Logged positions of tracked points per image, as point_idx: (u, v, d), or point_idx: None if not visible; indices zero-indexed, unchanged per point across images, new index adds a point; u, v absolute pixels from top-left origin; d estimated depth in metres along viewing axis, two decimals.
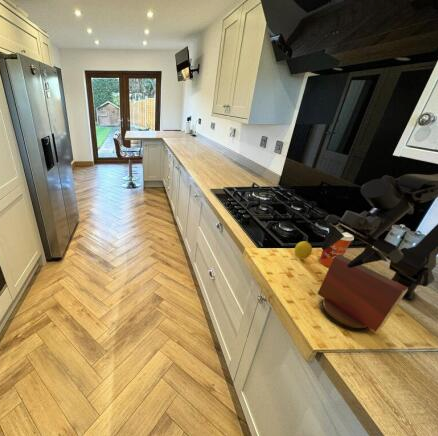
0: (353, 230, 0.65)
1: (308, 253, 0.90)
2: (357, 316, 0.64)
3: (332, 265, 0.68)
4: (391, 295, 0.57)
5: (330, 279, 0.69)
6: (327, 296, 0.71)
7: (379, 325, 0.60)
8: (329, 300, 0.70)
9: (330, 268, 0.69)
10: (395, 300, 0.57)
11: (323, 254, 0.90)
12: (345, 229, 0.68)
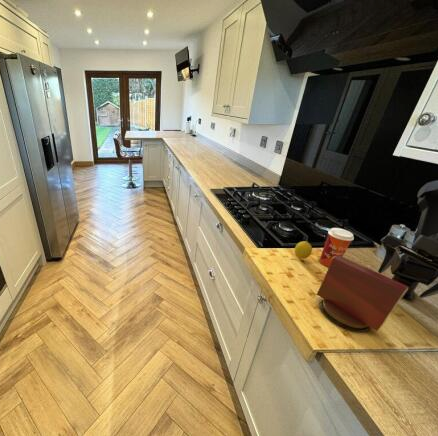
0: (419, 254, 0.60)
1: (308, 253, 0.90)
2: (358, 316, 0.64)
3: (331, 266, 0.68)
4: (393, 295, 0.57)
5: (329, 280, 0.69)
6: (327, 297, 0.70)
7: (381, 324, 0.61)
8: (329, 301, 0.70)
9: (329, 269, 0.68)
10: (397, 300, 0.57)
11: (323, 254, 0.90)
12: (407, 252, 0.63)
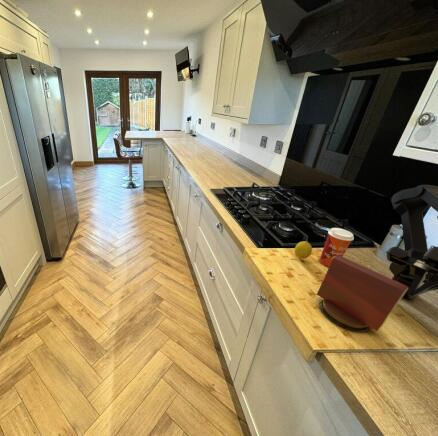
0: None
1: (308, 253, 0.90)
2: (358, 316, 0.64)
3: (331, 266, 0.68)
4: (393, 295, 0.57)
5: (329, 280, 0.69)
6: (327, 297, 0.70)
7: (381, 324, 0.61)
8: (329, 301, 0.70)
9: (329, 269, 0.68)
10: (397, 300, 0.57)
11: (323, 254, 0.90)
12: (413, 263, 0.64)
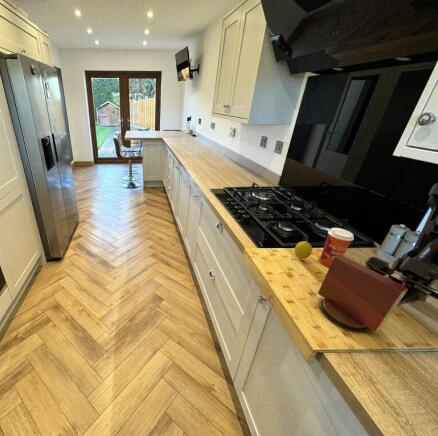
0: (427, 287, 0.57)
1: (308, 253, 0.90)
2: (356, 316, 0.64)
3: (332, 265, 0.68)
4: (391, 295, 0.57)
5: (330, 279, 0.69)
6: (327, 296, 0.71)
7: (378, 325, 0.60)
8: (329, 300, 0.70)
9: (330, 268, 0.69)
10: (394, 300, 0.57)
11: (323, 254, 0.90)
12: (391, 274, 0.63)
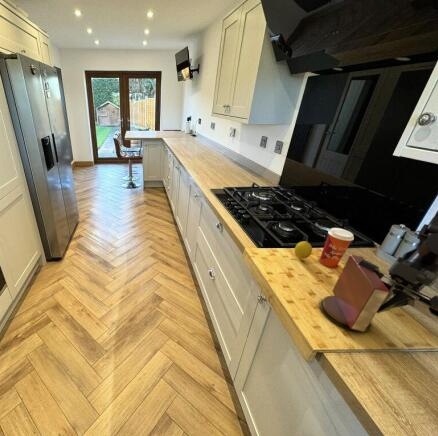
0: (416, 292, 0.56)
1: (308, 253, 0.90)
2: (345, 313, 0.65)
3: (347, 262, 0.69)
4: (368, 292, 0.58)
5: (342, 276, 0.71)
6: (336, 293, 0.72)
7: (354, 322, 0.61)
8: (336, 297, 0.72)
9: (345, 265, 0.70)
10: (368, 297, 0.57)
11: (323, 254, 0.90)
12: (381, 278, 0.62)
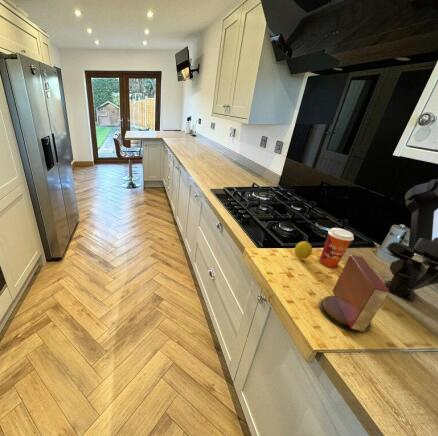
0: None
1: (308, 253, 0.90)
2: (345, 313, 0.65)
3: (347, 262, 0.69)
4: (368, 292, 0.58)
5: (342, 276, 0.71)
6: (336, 293, 0.72)
7: (354, 322, 0.61)
8: (336, 297, 0.72)
9: (345, 265, 0.70)
10: (368, 297, 0.57)
11: (323, 254, 0.90)
12: None
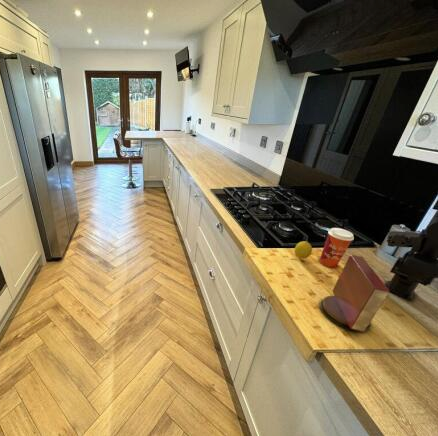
0: None
1: (308, 253, 0.90)
2: (345, 313, 0.65)
3: (347, 262, 0.69)
4: (368, 292, 0.58)
5: (342, 276, 0.71)
6: (336, 293, 0.72)
7: (354, 322, 0.61)
8: (336, 297, 0.72)
9: (345, 265, 0.70)
10: (368, 297, 0.57)
11: (323, 254, 0.90)
12: None
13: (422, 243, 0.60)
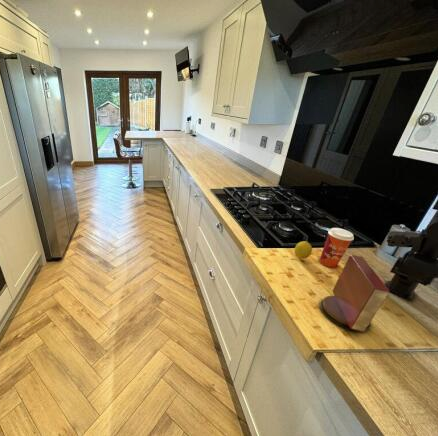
0: None
1: (308, 253, 0.90)
2: (345, 313, 0.65)
3: (347, 262, 0.69)
4: (368, 292, 0.58)
5: (342, 276, 0.71)
6: (336, 293, 0.72)
7: (354, 322, 0.61)
8: (336, 297, 0.72)
9: (345, 265, 0.70)
10: (368, 297, 0.57)
11: (323, 254, 0.90)
12: None
13: (422, 243, 0.60)
